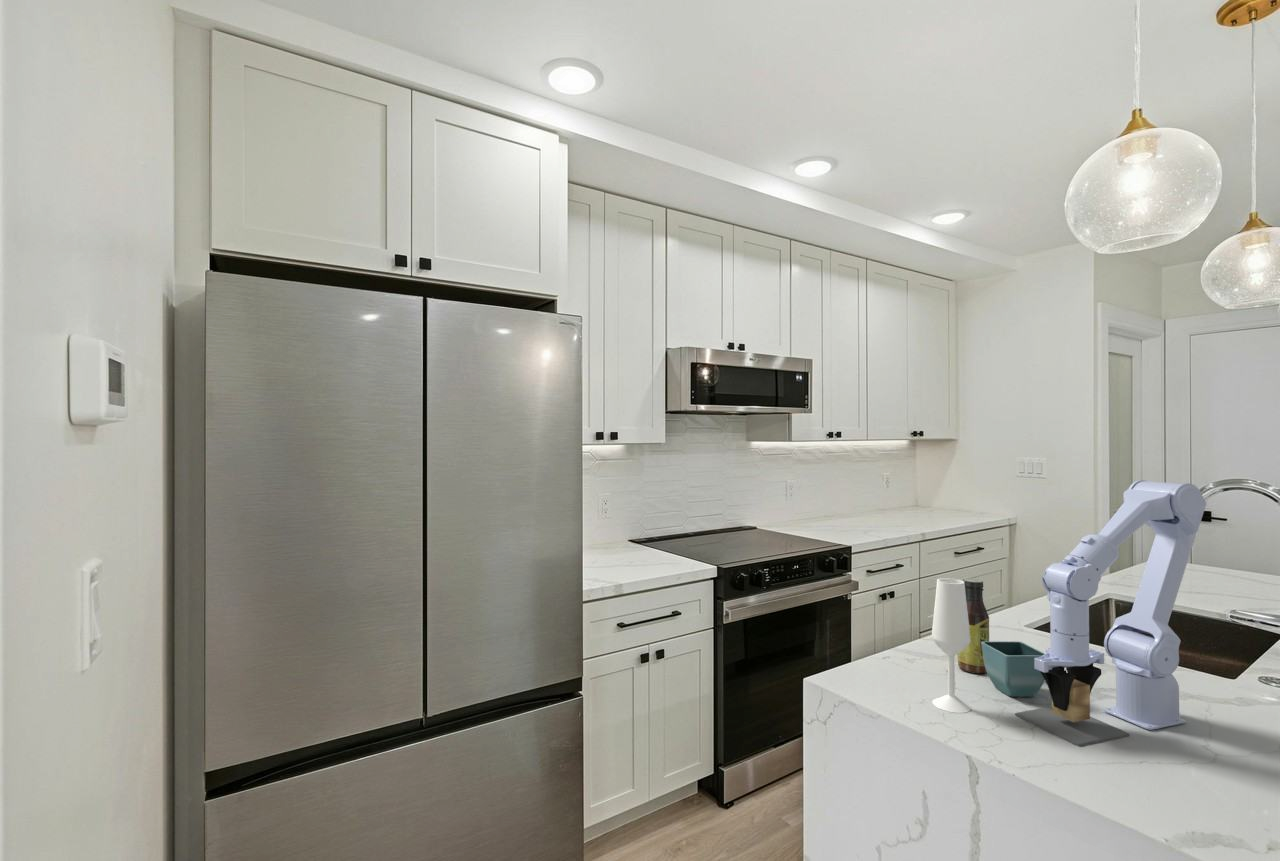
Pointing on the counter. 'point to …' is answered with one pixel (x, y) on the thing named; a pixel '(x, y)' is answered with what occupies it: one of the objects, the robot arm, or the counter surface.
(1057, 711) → the oak block
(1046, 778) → the counter surface
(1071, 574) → the robot arm
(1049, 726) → the mat
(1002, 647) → the flower pot
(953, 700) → the champagne flute
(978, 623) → the sauce bottle
